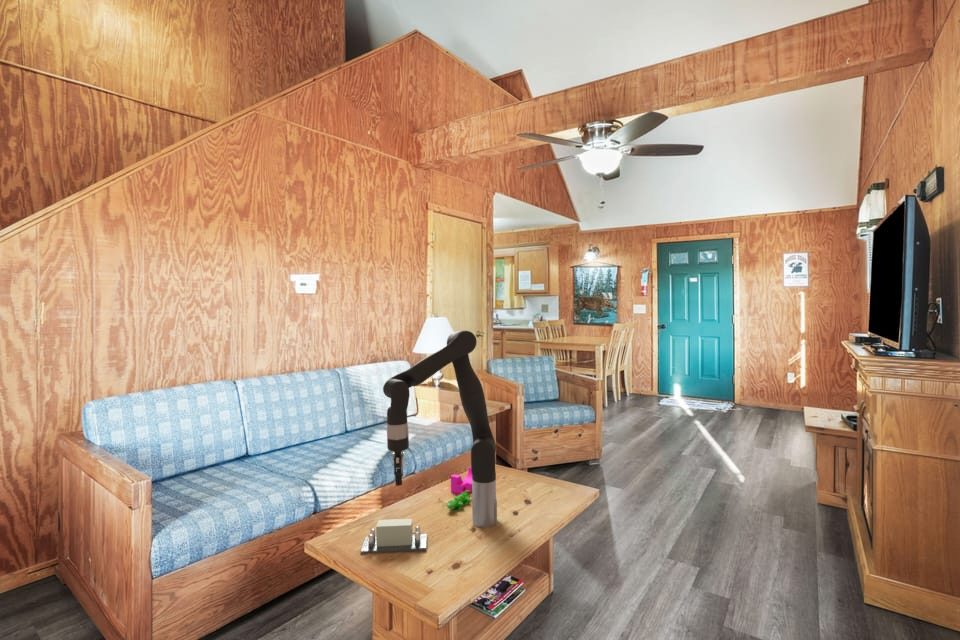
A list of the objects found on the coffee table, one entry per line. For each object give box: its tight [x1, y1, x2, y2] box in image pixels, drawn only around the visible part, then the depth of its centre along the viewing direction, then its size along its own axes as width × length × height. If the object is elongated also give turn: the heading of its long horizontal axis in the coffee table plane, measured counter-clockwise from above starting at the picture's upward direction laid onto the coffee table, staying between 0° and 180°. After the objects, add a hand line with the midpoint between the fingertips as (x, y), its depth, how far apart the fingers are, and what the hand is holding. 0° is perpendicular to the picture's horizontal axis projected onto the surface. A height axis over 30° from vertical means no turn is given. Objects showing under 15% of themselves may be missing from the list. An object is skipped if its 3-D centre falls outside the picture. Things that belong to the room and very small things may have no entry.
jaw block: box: [375, 518, 413, 547], centre depth 168 cm, size 5×12×7 cm, turn 94°
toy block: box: [450, 466, 472, 496], centre depth 219 cm, size 15×6×8 cm, turn 143°
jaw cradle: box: [360, 525, 428, 555], centre depth 168 cm, size 22×10×5 cm, turn 95°
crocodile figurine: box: [445, 490, 472, 512], centre depth 202 cm, size 7×18×4 cm, turn 153°
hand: (399, 480), depth 171 cm, fingers open, 8 cm apart
